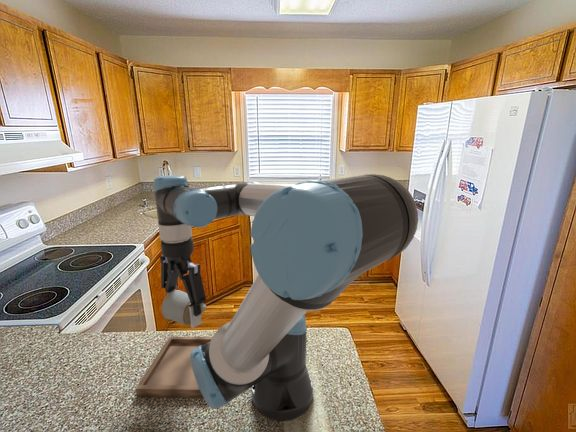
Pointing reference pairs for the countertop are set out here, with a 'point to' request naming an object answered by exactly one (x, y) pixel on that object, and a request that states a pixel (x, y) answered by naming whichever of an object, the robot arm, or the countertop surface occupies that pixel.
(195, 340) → the walnut tray
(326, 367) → the countertop surface
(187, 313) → the ceramic mug
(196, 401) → the countertop surface
